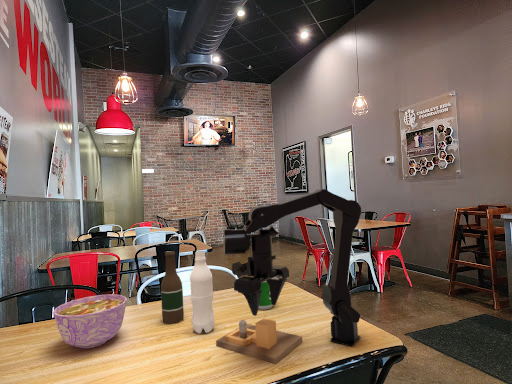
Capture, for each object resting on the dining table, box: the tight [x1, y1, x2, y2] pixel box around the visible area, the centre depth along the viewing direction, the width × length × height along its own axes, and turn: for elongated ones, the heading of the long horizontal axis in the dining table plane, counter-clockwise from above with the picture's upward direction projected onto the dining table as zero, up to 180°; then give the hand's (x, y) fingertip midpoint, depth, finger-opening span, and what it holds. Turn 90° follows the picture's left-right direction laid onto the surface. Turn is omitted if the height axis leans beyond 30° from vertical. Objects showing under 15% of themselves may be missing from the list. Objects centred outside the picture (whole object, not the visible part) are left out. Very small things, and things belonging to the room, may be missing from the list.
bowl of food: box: [52, 294, 128, 349], centre depth 98 cm, size 20×20×12 cm
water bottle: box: [189, 250, 216, 334], centre depth 103 cm, size 7×7×25 cm
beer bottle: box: [160, 250, 185, 325], centre depth 113 cm, size 8×8×24 cm
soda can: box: [258, 281, 274, 311], centre depth 122 cm, size 8×8×12 cm
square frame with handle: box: [224, 318, 277, 349], centre depth 90 cm, size 14×7×6 cm, turn 54°
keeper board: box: [215, 319, 303, 365], centre depth 91 cm, size 20×14×7 cm
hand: (264, 309), depth 87 cm, fingers open, 9 cm apart
